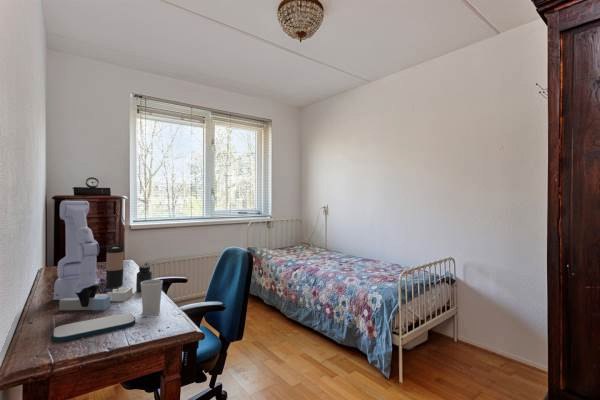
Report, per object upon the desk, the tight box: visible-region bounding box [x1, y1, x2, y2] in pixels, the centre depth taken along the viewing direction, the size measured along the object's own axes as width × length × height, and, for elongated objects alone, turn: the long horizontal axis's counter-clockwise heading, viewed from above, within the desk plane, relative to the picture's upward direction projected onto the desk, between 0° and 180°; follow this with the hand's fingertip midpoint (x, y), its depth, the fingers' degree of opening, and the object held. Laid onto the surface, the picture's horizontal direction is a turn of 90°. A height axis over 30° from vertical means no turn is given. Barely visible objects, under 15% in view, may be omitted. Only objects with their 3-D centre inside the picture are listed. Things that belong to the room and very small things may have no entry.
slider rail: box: [95, 287, 134, 302], centre depth 138 cm, size 21×9×4 cm, turn 96°
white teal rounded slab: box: [52, 312, 136, 343], centre depth 106 cm, size 24×12×2 cm, turn 128°
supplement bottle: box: [135, 265, 153, 293], centre depth 150 cm, size 7×7×12 cm
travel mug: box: [105, 245, 125, 289], centre depth 157 cm, size 8×8×20 cm
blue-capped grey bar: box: [58, 296, 111, 311], centre depth 125 cm, size 18×4×4 cm, turn 96°
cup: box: [140, 279, 164, 316], centre depth 123 cm, size 8×8×12 cm
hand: (87, 305), depth 125 cm, fingers closed on blue-capped grey bar, 3 cm apart
